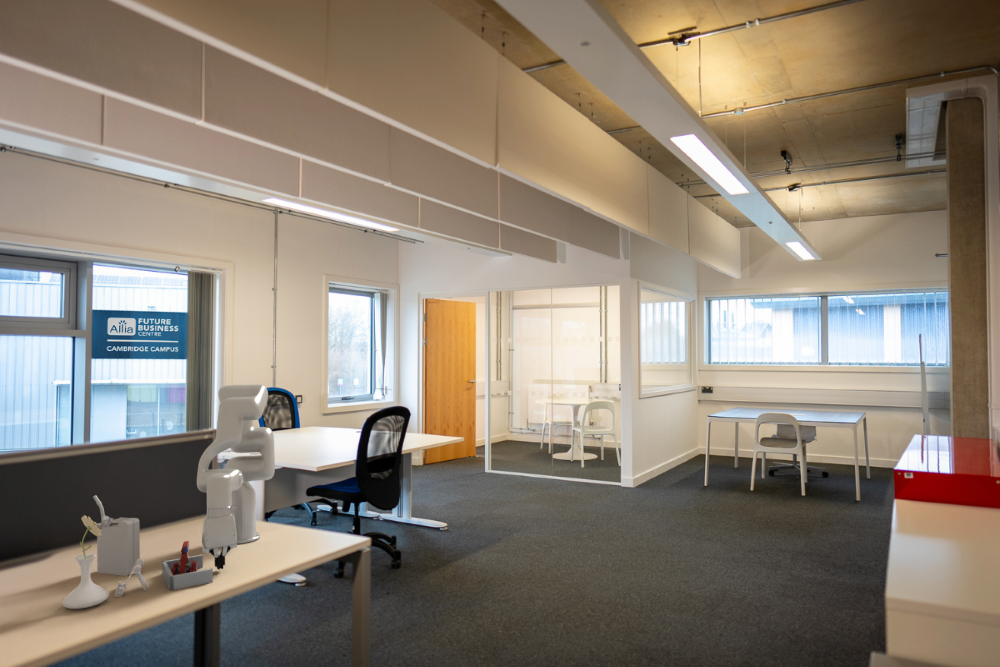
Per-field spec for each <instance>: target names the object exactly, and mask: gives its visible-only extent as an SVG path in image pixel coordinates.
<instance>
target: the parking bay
mask: <svg viewBox="0 0 1000 667" xmlns="http://www.w3.org/2000/svg"><path fill="white" fill-rule="evenodd" d="M180 559H181V557H180V558H175V559H170V560H169V559H168V560H164V561H161V565H162V566H161V572H162V576H163V579H164V581H165V583H166V585H167V587H168V589H169V591H175V590H180V589H184V588H189V587H194V586H199V585H205V584H211V583H213V582H214V581H213V579H214V578H213V577H214V576H213V568H208V569H207V568H206V569H201V568H203V566H204V563H203V562H204V560H203V559H204V558H203V554H198V555H192V556H189V564H188V565H189V566H190V567H191V565H192V562H193V561H197V569H201V570H197V571H195V572H190V573H185V574H179V575H174V576H173V574H172V572H171V569H172V568H173V564H174V563H179V560H180Z"/></svg>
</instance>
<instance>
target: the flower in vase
mask: <svg viewBox="0 0 1000 667" xmlns="http://www.w3.org/2000/svg"><path fill="white" fill-rule="evenodd" d="M80 519H81V520H82V523H83V525H84V527H86V530H85V533H84V535H83V537H82V539H81V541H79V544H80V545H79V546H80V547H82V548H81V549H82V551H81V552H82V553H83V554H81V555H78V556H76V557H75V558H74V559H75V560H76V561H77V562H78V564H79V567H80V575H81V576H80V581H79V584H78V585H77V586H76V587H75V588H74V589H73V590H72V591H70V592H69V593H68V594H67V595H66V596H65V597H64V598H63V599H62V600H63V601H62V602H61V604H62V606H63V607H64V608H66V609H72V610H73V609H75V610H77V609H78V610H79V609H85V608H90V607H94V606H97V605H99V604H101V603H103V602H105V601H106V600H107V599H108V598H109V596H110V594H109V591H107V589H105V588H103V587H101V586H100V585H98V584H96V583H94V582H93V580H92V579H91V570H92V569H91V568H92V563H93V562H94V559H95V557H96V556H97V554H95V553H85V551H87V550H89V549H90V548H92V545H91V544H89V546H87V548H85V547H84V540H85V538H86V535H87V534H88V531H89V532H90V533H92V534H93V535H94V536H96V537H97V536H98V537H100V536H102V534H101V533H100V532H101V530H100V529H101V528H99V527H98V526H97V524H98V523H97V522H96V521H93V519H91V517H90V516H86V515H85V514H84V515H83V516H81V518H80Z"/></svg>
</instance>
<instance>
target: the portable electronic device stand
mask: <svg viewBox="0 0 1000 667" xmlns="http://www.w3.org/2000/svg"><path fill="white" fill-rule="evenodd" d="M144 562H145V560H144V559H143V558H141V557H140V558H139V559H137V561H136V562H135V565H134V567H133V569H132V571H131V573H130V575H128V578H127V580H126V582H125V583H122V581H121V580H119V582H118V585H117V587H116V589H115V593H114V595H115V597H116V598H120V597H122V596H123V594H124V593H125V590H126V588H127V585H128V584H129V581H130V579H131V577H132V576H133V574H135V575H136V577H137V579H138V581H139V583H140V584H141V588H142V589H143V591H145V592H147V588H148V584H147V583H146V581H145V578H144V577H143V575H142V573H141V572H142V569H143V565H144Z"/></svg>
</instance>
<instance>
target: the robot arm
mask: <svg viewBox="0 0 1000 667" xmlns="http://www.w3.org/2000/svg"><path fill="white" fill-rule="evenodd" d="M217 395H218V399H219V402H220V403H219V405H218V411H217V413H218V415H217V423H216V432H215V438H214V440H213V442H211V443H210V444H209V445H208V446H207V448H206V449H205V450H204V451H203V453H202V455H201V457H200V458H199V460H198V461H199V462H198V467H197V473H196V474H197V475H196V486H197V489H198V490H199V491H200V492H201V493H206V516H204V518H203V523H202V529H201V530H202V532H201V533H202V534H201V542H202V543H201V544H202V547H201V552H202V553H203V554H210V555H211V556H213V557H214V567H215V568H217V570H220V569H221V570H223V569H224V566H226V556H227V554H228V553H229V552H230V551H231V550H233V549H235V548H237V547H238V544H246V543H251V542H252V543H253V542H254V541H257V540H259V539H260V538H261V533H260V532H257V528H256V527H257V526H256V525H257V523H256V522H257V521H256V520H257V519H256V517H257V515H256V510H257V509H256V508H257V507H256V506H257V505H256V504H257V503H256V501H257V498H256V490H255V488H254V486H253V485H252V484H251V483H250V482H253V481H254V482H255V481H256V482H257V481H268V480H271V479H273V477H274V475H275V472H276V471H275V466H276V464H275V436H274V432H273V430H272V429H271V428H269V427H266V426H261V427H260V426H257V427H256V426H255V427H254V421H257V420H259V419H261V418H262V416H263V414H264V410H265V409H266V406H267V403H268V400H269V399H268V398H269V392H268V388H267V387H266V386H265V385H263V384H232V385H231V384H230V385H229V384H228V385H224V386H221V387H220V388H219V389H218V392H217ZM229 449H230V450H231V452H233V453H236V454H238V453H239V454H247V453H249V454H250V453H254V454H255V453H259V454H260V455H258V454H257V455H238V456H234V457H231V458H230V459H228V460H227V462H226V464H225V468H216V469H215V468H213V469H209V467H210V464H211V462H212V460H214V458H215V457H216V456H218V455H219V454H221V453H223V452H224V451H227V450H229ZM219 548H221V549H220V550H221V551H220V554H219Z"/></svg>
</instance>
